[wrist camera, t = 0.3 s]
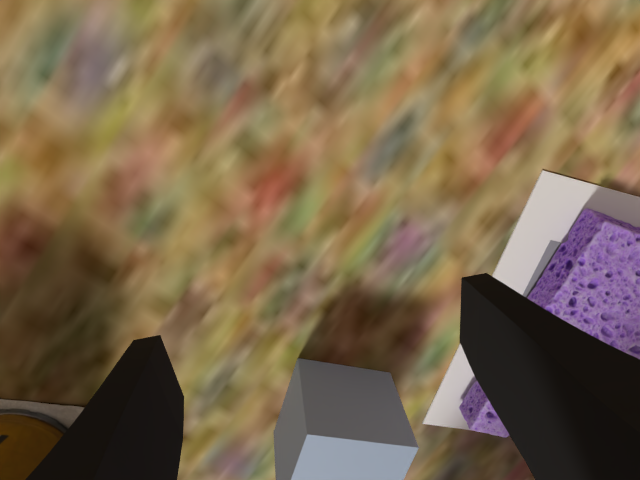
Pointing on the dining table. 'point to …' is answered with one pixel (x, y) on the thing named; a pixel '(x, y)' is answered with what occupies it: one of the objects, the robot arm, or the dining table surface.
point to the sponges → (583, 296)
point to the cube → (342, 426)
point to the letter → (531, 264)
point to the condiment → (30, 434)
